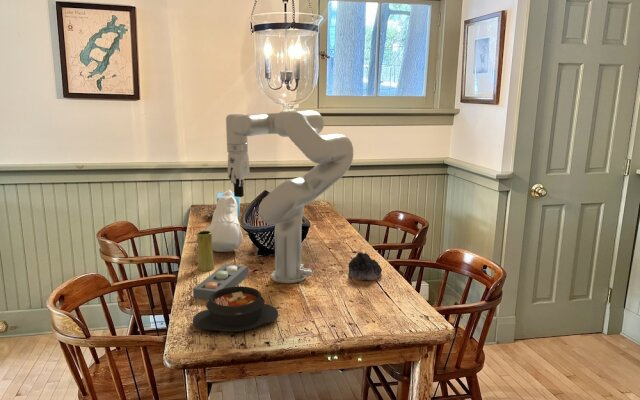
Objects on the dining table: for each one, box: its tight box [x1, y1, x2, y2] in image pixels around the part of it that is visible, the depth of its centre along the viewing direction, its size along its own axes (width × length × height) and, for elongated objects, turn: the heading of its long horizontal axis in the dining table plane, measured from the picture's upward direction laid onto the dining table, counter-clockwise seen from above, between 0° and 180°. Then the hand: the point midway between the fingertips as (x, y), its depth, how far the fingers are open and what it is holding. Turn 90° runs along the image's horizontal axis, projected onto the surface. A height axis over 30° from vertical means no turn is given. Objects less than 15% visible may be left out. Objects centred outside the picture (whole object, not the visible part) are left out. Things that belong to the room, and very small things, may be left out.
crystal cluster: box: [347, 252, 383, 281], centre depth 186 cm, size 13×14×10 cm
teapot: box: [216, 190, 241, 218], centre depth 262 cm, size 22×11×14 cm, turn 8°
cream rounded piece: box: [226, 266, 237, 272], centre depth 182 cm, size 4×4×3 cm
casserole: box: [192, 285, 279, 333], centre depth 149 cm, size 25×19×8 cm
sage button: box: [216, 271, 228, 280], centre depth 175 cm, size 4×4×3 cm
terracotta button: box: [205, 282, 218, 289], centre depth 167 cm, size 4×4×3 cm
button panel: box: [192, 263, 249, 302], centre depth 175 cm, size 9×24×4 cm, turn 165°
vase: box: [196, 230, 215, 272], centre depth 190 cm, size 6×6×14 cm
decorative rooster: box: [204, 189, 243, 253], centre depth 214 cm, size 25×16×25 cm
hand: (239, 196), depth 191 cm, fingers closed
